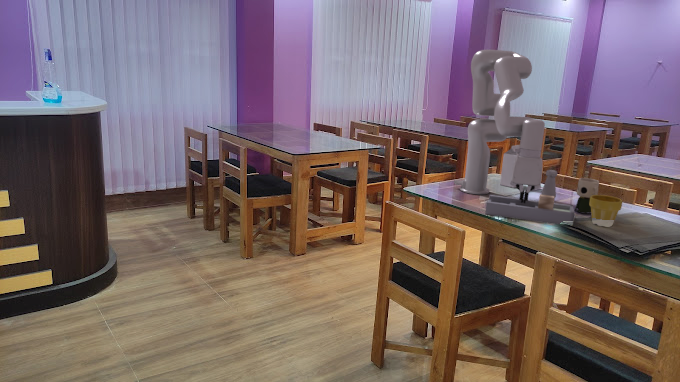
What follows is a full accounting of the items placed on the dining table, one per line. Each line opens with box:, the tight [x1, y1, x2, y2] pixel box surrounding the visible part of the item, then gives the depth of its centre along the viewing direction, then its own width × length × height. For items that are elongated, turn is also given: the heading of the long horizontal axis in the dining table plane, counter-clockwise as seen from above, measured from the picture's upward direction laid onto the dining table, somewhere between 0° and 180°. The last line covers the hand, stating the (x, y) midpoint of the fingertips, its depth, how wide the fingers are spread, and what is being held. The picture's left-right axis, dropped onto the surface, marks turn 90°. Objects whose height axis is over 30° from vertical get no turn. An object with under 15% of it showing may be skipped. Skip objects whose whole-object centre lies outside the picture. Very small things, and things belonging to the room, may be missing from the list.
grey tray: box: [484, 194, 575, 225], centre depth 188 cm, size 30×13×4 cm, turn 69°
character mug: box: [574, 177, 600, 214], centre depth 194 cm, size 11×7×13 cm, turn 12°
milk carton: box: [499, 144, 520, 189], centre depth 234 cm, size 7×7×19 cm
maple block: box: [538, 193, 556, 210], centre depth 185 cm, size 5×5×5 cm
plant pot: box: [589, 194, 623, 220], centre depth 180 cm, size 10×10×10 cm
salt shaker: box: [540, 169, 558, 199], centre depth 210 cm, size 6×6×13 cm
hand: (523, 202), depth 188 cm, fingers closed
